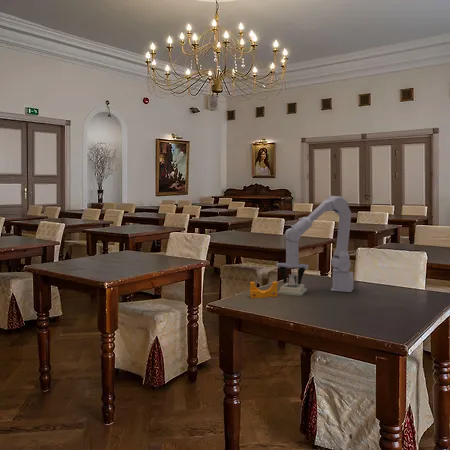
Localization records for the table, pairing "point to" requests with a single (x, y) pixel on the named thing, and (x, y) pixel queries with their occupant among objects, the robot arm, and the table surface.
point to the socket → (292, 290)
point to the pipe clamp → (262, 294)
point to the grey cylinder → (292, 280)
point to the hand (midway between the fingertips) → (292, 283)
